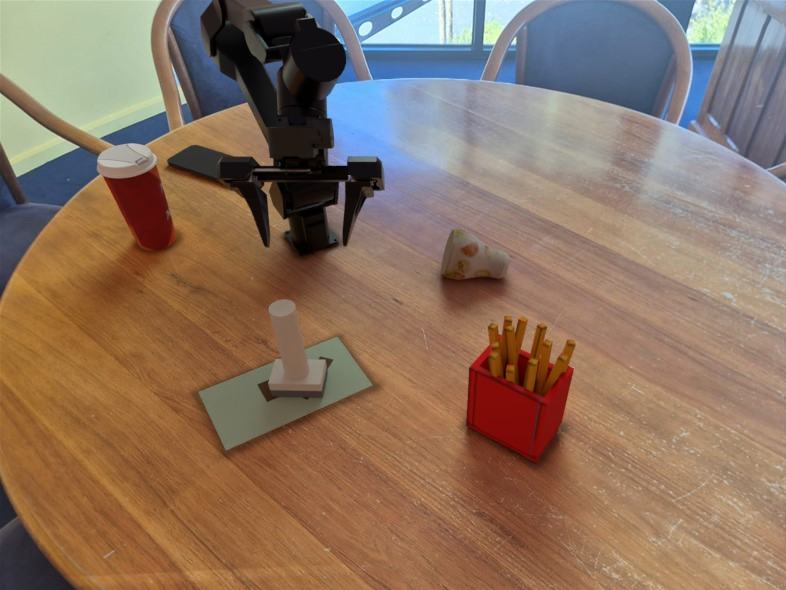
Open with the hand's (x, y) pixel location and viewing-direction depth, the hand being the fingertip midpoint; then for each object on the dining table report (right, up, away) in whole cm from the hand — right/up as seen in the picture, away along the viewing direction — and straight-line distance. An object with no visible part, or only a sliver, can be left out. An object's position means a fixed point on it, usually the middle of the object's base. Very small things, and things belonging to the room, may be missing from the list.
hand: (306, 246), depth 74 cm
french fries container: (+25, -21, -2) cm, 33 cm away
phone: (-26, +20, +36) cm, 49 cm away
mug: (+20, -1, +18) cm, 27 cm away
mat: (-2, -17, +1) cm, 17 cm away
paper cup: (-28, +4, +21) cm, 35 cm away
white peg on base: (-1, -17, +1) cm, 17 cm away
